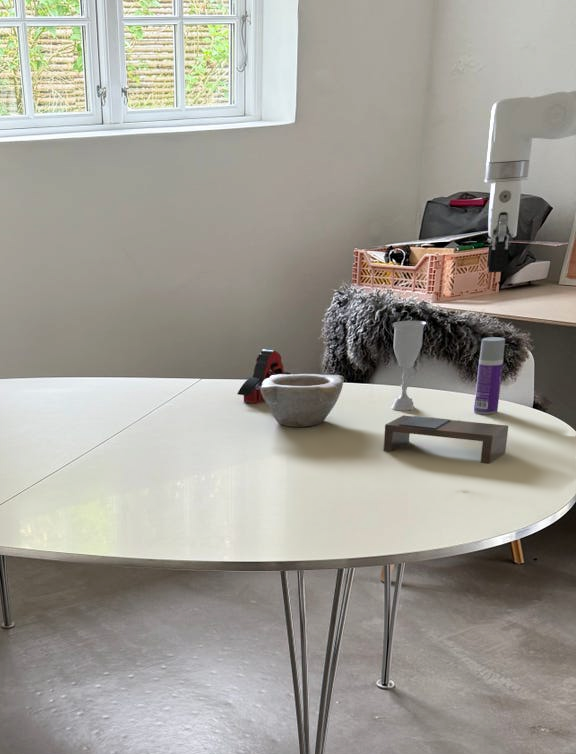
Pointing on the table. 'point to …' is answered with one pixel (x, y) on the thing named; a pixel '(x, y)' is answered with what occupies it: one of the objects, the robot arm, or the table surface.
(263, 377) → the red black angled piece
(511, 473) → the table surface
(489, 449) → the shelf
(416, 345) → the chalice
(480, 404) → the container
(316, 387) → the mortar
